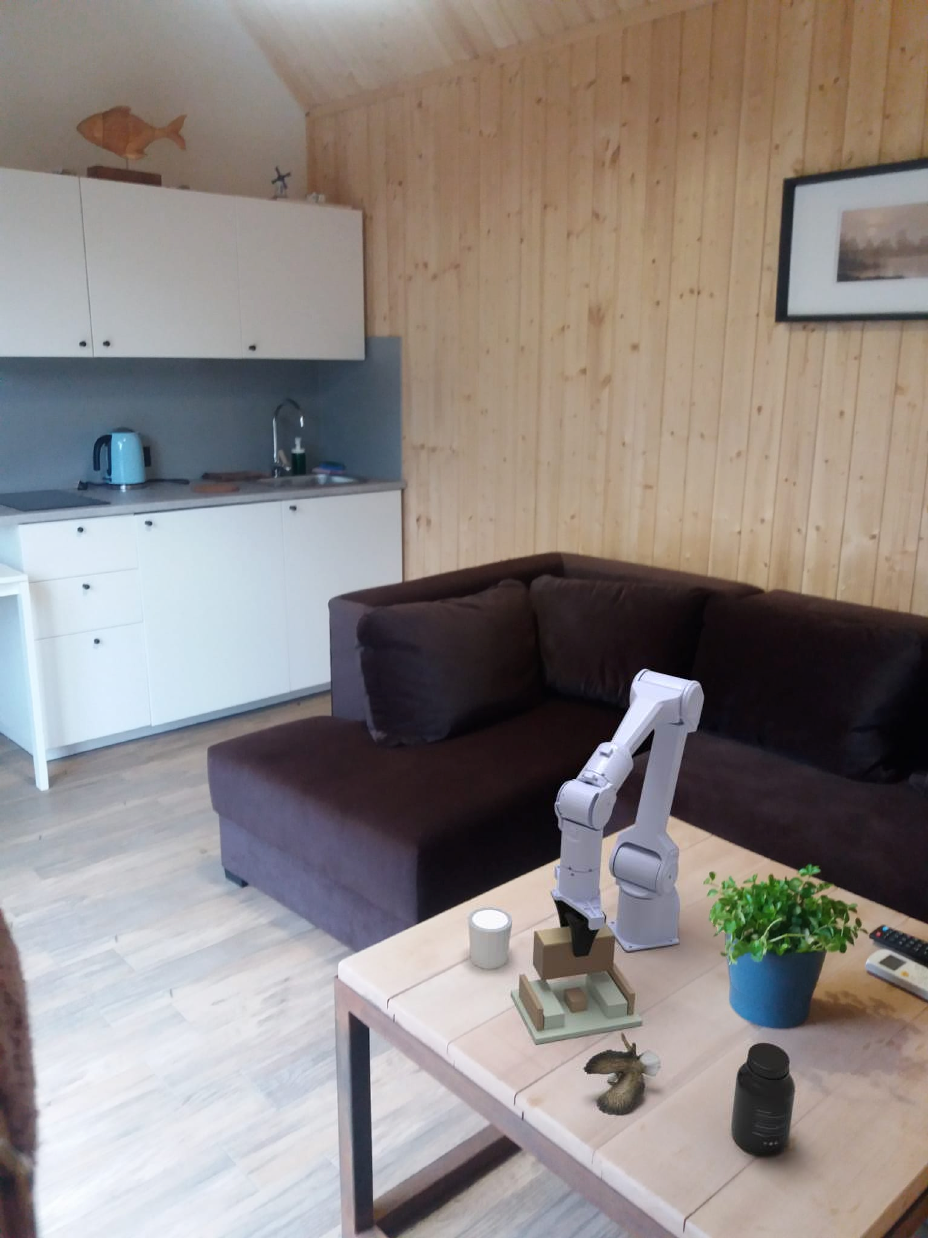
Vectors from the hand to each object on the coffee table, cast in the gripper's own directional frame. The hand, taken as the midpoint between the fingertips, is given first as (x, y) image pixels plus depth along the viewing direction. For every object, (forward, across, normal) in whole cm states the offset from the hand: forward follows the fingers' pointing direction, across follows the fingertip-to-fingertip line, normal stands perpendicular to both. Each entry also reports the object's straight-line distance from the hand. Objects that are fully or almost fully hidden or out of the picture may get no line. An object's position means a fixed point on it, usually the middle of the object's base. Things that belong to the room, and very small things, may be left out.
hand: (575, 946), depth 146 cm
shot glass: (+9, -12, -9) cm, 17 cm away
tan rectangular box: (+3, 0, 0) cm, 4 cm away
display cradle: (+8, +3, -1) cm, 9 cm away
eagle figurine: (+9, +19, -1) cm, 21 cm away
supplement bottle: (+9, +31, +12) cm, 34 cm away
